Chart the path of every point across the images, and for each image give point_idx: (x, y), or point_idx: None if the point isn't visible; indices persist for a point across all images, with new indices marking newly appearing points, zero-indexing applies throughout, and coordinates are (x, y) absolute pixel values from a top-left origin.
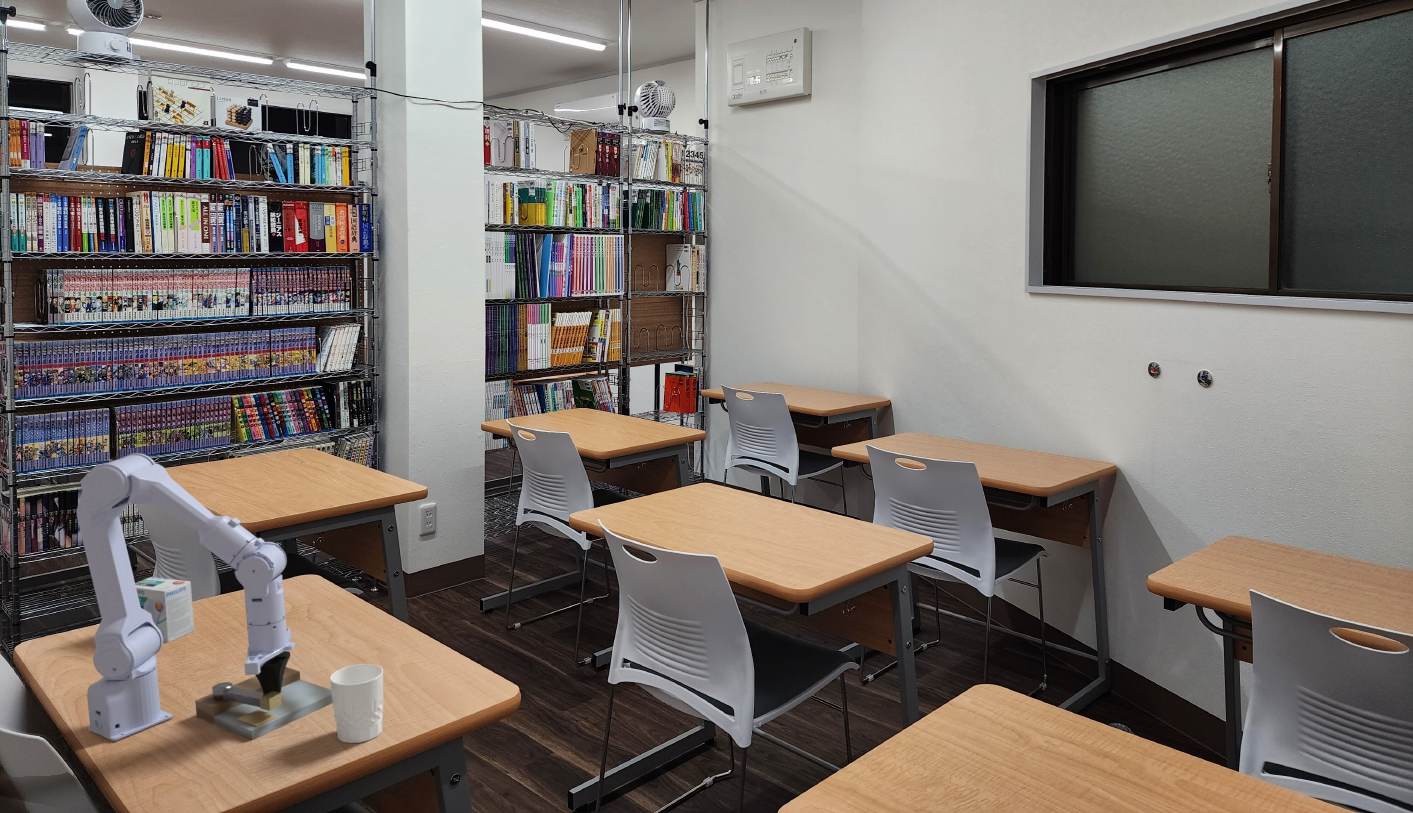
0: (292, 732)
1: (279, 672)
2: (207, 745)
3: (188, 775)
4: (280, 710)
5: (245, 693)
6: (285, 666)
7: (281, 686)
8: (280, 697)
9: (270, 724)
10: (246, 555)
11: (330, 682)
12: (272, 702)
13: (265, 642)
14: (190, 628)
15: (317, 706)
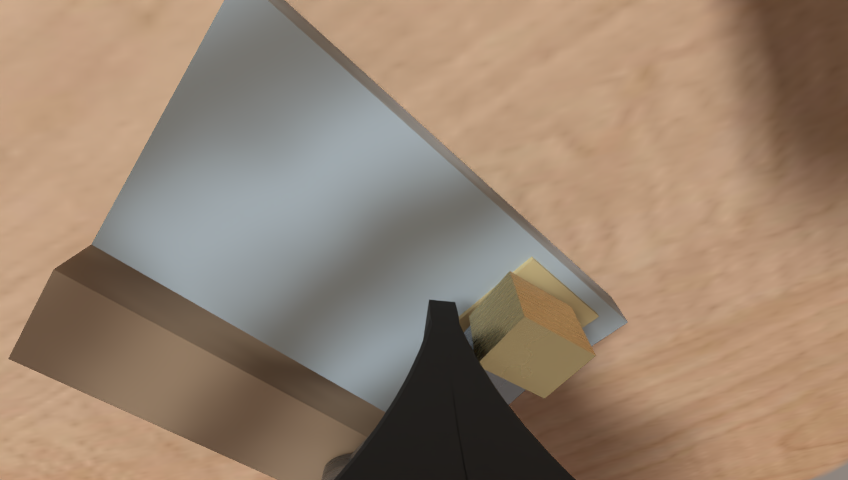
0: (609, 160)
1: (544, 448)
2: (587, 402)
3: (776, 402)
4: (453, 258)
5: None
6: (399, 431)
7: (433, 332)
8: (522, 300)
9: (570, 267)
10: None
11: None
12: (568, 323)
13: None
14: None
15: (378, 89)
